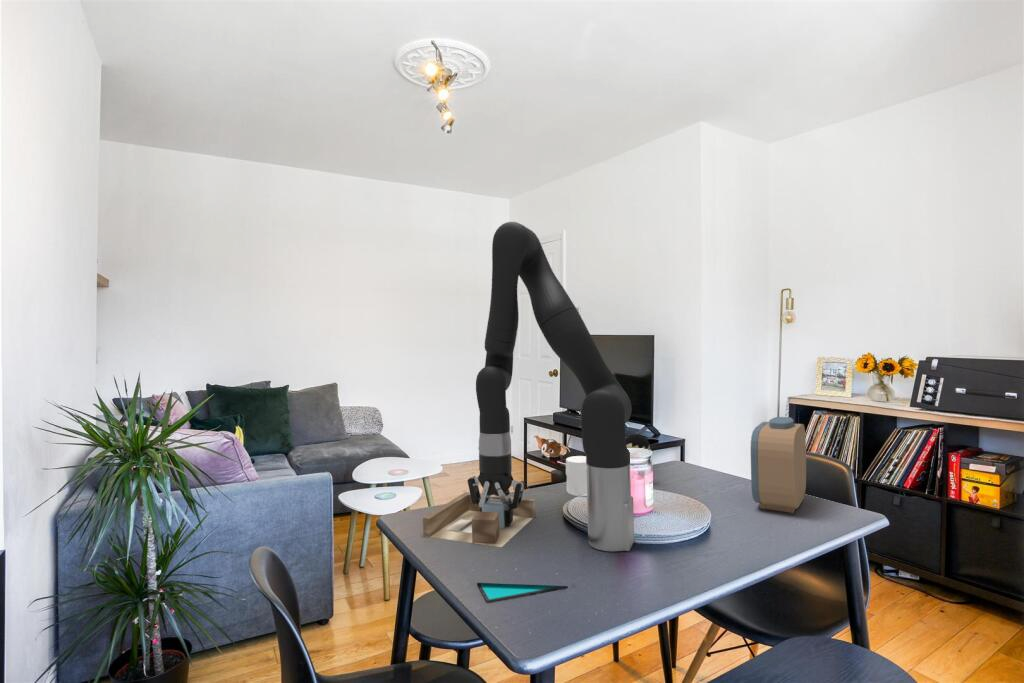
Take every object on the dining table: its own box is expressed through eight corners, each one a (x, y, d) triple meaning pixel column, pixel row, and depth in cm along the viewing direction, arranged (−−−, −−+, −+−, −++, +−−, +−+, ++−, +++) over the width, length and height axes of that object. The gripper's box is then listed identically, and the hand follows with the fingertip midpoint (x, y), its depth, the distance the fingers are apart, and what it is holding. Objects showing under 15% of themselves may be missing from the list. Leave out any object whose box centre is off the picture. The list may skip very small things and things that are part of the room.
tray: (535, 520, 128) (535, 499, 128) (501, 552, 110) (501, 527, 110) (466, 512, 136) (465, 492, 136) (423, 541, 117) (422, 517, 117)
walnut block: (499, 534, 117) (498, 512, 117) (495, 543, 112) (494, 520, 112) (477, 534, 117) (476, 511, 117) (472, 543, 112) (471, 519, 112)
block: (511, 521, 124) (510, 499, 124) (502, 529, 120) (501, 506, 120) (491, 519, 126) (490, 498, 126) (482, 526, 122) (481, 504, 122)
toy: (650, 481, 158) (649, 431, 158) (654, 488, 151) (652, 436, 151) (621, 482, 159) (620, 432, 159) (623, 488, 152) (622, 436, 152)
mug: (559, 457, 153) (582, 454, 156) (559, 490, 153) (582, 485, 156) (582, 466, 142) (607, 462, 146) (583, 501, 142) (607, 496, 146)
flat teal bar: (476, 582, 96) (553, 568, 101) (476, 586, 96) (553, 572, 101) (486, 601, 89) (568, 585, 94) (487, 606, 89) (568, 590, 94)
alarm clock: (767, 490, 146) (765, 412, 146) (806, 496, 141) (804, 415, 140) (751, 512, 130) (749, 424, 129) (795, 519, 124) (792, 427, 124)
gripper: (529, 449, 123) (531, 522, 124) (474, 445, 129) (476, 514, 129) (517, 457, 116) (518, 533, 117) (460, 452, 122) (461, 525, 122)
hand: (496, 523), depth 123 cm, fingers closed on block, 5 cm apart
